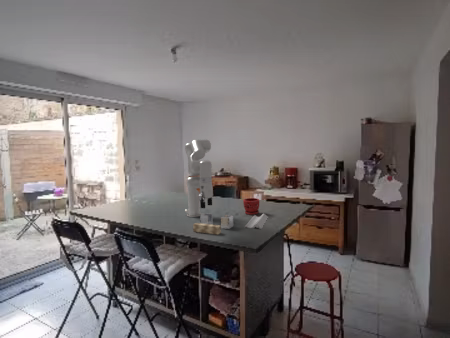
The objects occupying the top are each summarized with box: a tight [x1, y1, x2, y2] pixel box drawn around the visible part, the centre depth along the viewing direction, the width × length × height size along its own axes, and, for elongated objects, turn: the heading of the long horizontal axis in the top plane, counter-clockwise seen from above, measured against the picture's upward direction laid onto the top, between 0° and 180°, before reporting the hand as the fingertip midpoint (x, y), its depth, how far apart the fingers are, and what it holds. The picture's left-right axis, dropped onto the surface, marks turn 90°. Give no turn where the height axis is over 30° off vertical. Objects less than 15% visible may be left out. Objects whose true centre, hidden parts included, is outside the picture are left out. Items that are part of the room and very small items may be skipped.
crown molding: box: [244, 213, 269, 229], centre depth 203 cm, size 31×12×4 cm, turn 163°
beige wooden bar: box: [192, 222, 222, 235], centre depth 181 cm, size 18×4×5 cm, turn 65°
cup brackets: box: [199, 212, 234, 230], centre depth 195 cm, size 22×8×8 cm, turn 66°
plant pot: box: [242, 197, 260, 216], centre depth 230 cm, size 13×13×12 cm
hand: (206, 206), depth 180 cm, fingers open, 9 cm apart
